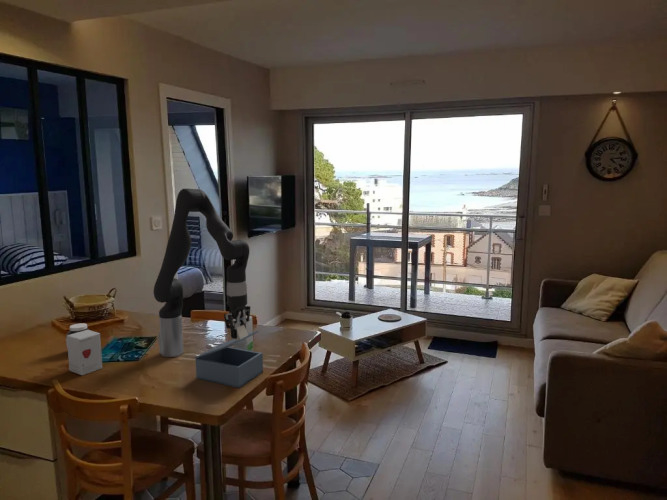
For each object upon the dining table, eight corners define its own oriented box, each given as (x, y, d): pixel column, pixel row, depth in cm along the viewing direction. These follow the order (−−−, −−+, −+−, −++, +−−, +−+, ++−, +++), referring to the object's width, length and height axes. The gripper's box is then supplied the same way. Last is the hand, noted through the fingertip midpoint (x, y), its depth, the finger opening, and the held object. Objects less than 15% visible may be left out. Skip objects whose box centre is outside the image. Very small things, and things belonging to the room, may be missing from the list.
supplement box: (81, 376, 185) (78, 339, 183) (68, 371, 190) (65, 335, 188) (103, 368, 193) (100, 332, 191) (90, 363, 198) (87, 329, 195)
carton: (196, 378, 183) (195, 358, 182) (222, 363, 198) (221, 345, 196) (239, 388, 175) (238, 367, 174) (263, 372, 190) (262, 353, 188)
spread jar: (87, 345, 218) (85, 321, 216) (100, 350, 212) (98, 325, 210) (60, 353, 208) (57, 328, 207) (72, 359, 202) (70, 333, 200)
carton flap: (195, 358, 182) (190, 346, 182) (221, 345, 196) (217, 333, 197) (233, 345, 173) (228, 332, 173) (258, 332, 188) (253, 320, 188)
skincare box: (246, 355, 207) (245, 321, 204) (232, 354, 208) (231, 320, 205) (253, 348, 215) (253, 315, 212) (240, 347, 216) (239, 314, 213)
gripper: (240, 287, 187) (241, 329, 190) (216, 296, 174) (218, 340, 177) (255, 289, 184) (257, 331, 187) (233, 298, 171) (235, 343, 174)
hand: (238, 335), depth 182 cm, fingers closed on carton flap, 5 cm apart
